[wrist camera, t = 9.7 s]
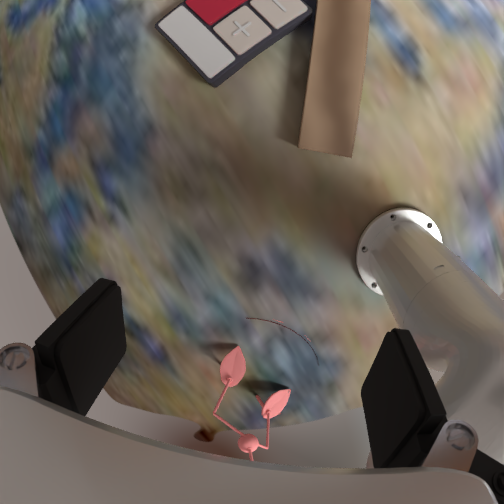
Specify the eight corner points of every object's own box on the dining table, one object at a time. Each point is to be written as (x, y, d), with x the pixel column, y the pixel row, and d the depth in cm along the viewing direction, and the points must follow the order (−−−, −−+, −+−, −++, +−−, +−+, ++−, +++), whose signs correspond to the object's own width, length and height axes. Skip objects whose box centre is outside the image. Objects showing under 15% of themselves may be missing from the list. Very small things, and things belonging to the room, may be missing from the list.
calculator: (315, 8, 27) (208, 83, 31) (311, 21, 31) (214, 89, 35) (252, -48, 24) (150, 23, 28) (254, -32, 28) (162, 33, 32)
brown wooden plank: (367, -58, 23) (372, -68, 21) (346, 155, 36) (351, 157, 33) (323, -67, 24) (325, -78, 21) (297, 146, 36) (298, 148, 33)
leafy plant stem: (280, 420, 54) (272, 593, 22) (183, 333, 48) (96, 542, 16) (352, 386, 50) (383, 577, 17) (260, 282, 44) (221, 554, 11)
